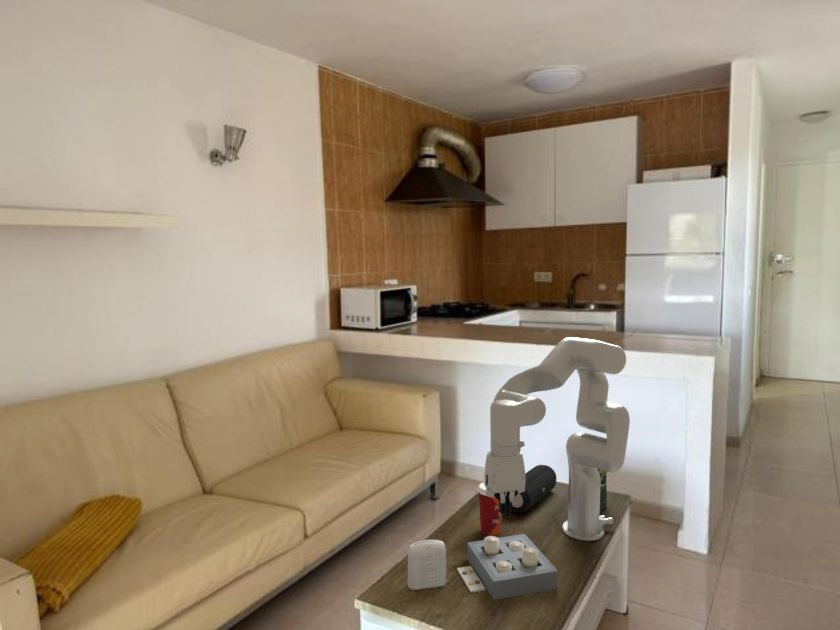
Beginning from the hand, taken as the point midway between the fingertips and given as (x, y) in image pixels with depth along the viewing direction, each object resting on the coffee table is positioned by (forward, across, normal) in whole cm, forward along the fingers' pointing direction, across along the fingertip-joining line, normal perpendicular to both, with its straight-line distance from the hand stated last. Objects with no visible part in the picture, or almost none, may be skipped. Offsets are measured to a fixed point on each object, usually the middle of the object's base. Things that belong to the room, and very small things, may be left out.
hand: (505, 514), depth 150 cm
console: (+19, -3, -4) cm, 20 cm away
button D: (+19, +1, 0) cm, 19 cm away
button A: (+19, -7, -8) cm, 22 cm away
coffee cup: (+20, -6, -27) cm, 34 cm away
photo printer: (+19, +20, -5) cm, 28 cm away
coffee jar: (+21, -46, -33) cm, 61 cm away
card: (+19, +8, -4) cm, 21 cm away
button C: (+16, +1, -8) cm, 18 cm away
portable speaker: (+21, -28, -43) cm, 55 cm away
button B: (+16, -7, 0) cm, 18 cm away
